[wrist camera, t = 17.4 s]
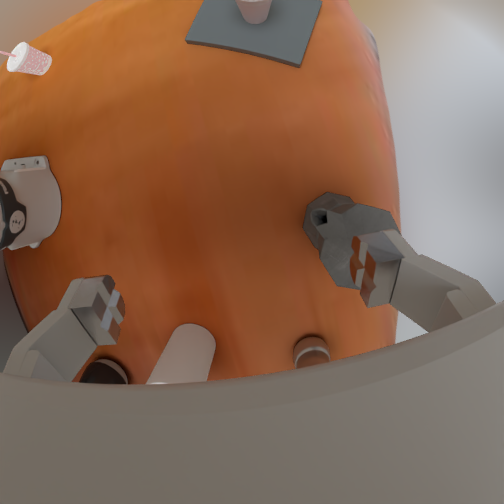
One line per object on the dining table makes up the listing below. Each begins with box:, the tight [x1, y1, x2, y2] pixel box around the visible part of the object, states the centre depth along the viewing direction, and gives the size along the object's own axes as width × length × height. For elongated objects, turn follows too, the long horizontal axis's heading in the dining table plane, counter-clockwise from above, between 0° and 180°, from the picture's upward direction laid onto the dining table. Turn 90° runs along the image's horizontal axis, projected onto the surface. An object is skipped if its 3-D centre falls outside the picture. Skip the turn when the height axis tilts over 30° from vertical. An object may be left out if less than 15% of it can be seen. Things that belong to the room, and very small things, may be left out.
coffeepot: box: [303, 192, 401, 290], centre depth 33 cm, size 15×9×18 cm, turn 58°
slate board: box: [185, 0, 322, 68], centre depth 32 cm, size 18×14×2 cm
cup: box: [146, 324, 216, 384], centre depth 41 cm, size 8×8×16 cm
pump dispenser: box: [79, 359, 128, 384], centre depth 45 cm, size 10×10×15 cm
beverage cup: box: [0, 42, 52, 75], centre depth 28 cm, size 6×6×14 cm
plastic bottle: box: [293, 337, 330, 369], centre depth 38 cm, size 6×7×20 cm
